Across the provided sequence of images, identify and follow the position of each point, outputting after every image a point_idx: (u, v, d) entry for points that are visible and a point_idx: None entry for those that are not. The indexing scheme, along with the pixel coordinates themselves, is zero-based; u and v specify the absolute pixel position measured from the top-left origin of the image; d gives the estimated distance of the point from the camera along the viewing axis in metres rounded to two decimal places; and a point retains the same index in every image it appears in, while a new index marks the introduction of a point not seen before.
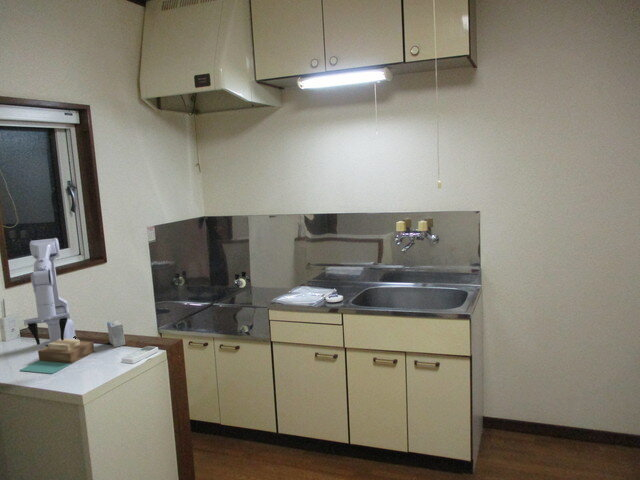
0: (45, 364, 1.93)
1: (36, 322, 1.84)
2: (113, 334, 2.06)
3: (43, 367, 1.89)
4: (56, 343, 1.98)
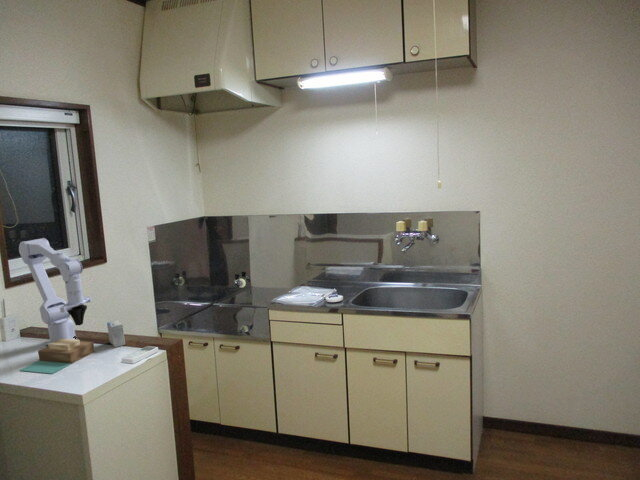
0: (45, 364, 1.93)
1: (70, 308, 2.02)
2: (113, 334, 2.06)
3: (43, 367, 1.89)
4: (56, 343, 1.98)
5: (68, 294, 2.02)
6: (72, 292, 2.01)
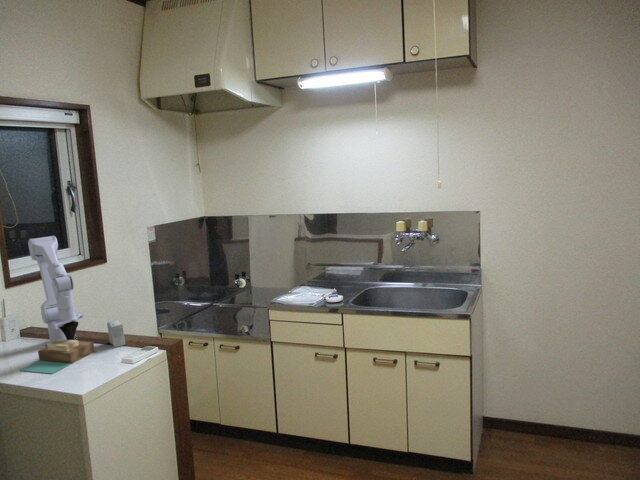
0: (45, 364, 1.93)
1: (61, 325, 1.97)
2: (113, 334, 2.06)
3: (43, 367, 1.89)
4: (54, 344, 1.97)
5: (59, 310, 1.97)
6: (61, 309, 1.97)
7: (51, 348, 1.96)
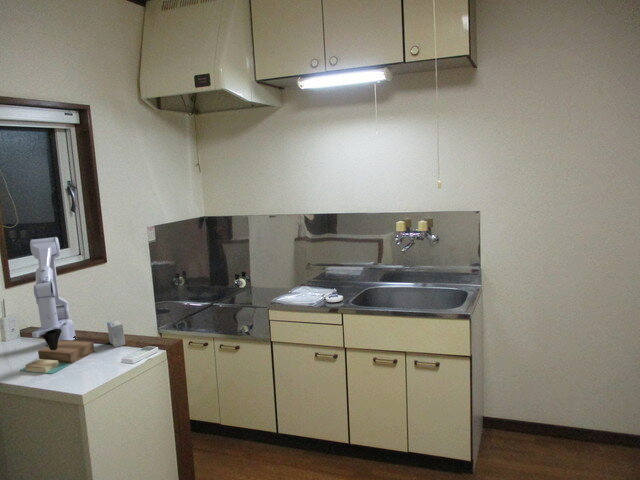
0: None
1: (43, 333, 1.89)
2: (113, 334, 2.06)
3: None
4: None
5: (41, 318, 1.89)
6: (41, 316, 1.89)
7: None
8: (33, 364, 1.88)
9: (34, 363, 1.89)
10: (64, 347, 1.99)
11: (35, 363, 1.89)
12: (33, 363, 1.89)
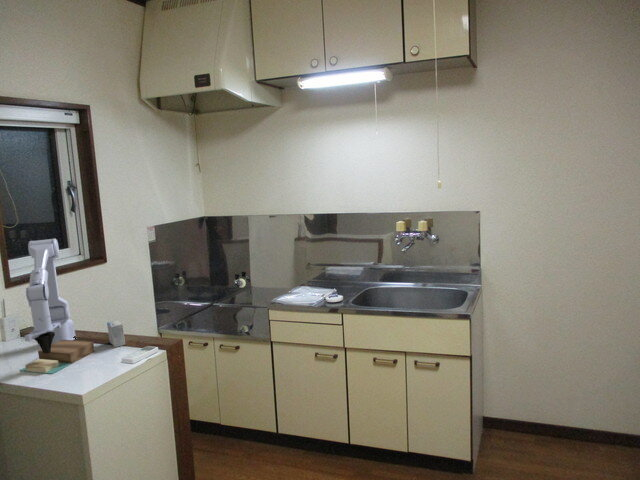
0: None
1: (36, 336, 1.86)
2: (113, 334, 2.06)
3: None
4: None
5: (34, 321, 1.86)
6: (33, 319, 1.86)
7: None
8: (33, 364, 1.88)
9: (34, 363, 1.89)
10: (64, 347, 1.99)
11: (35, 363, 1.89)
12: (33, 363, 1.89)
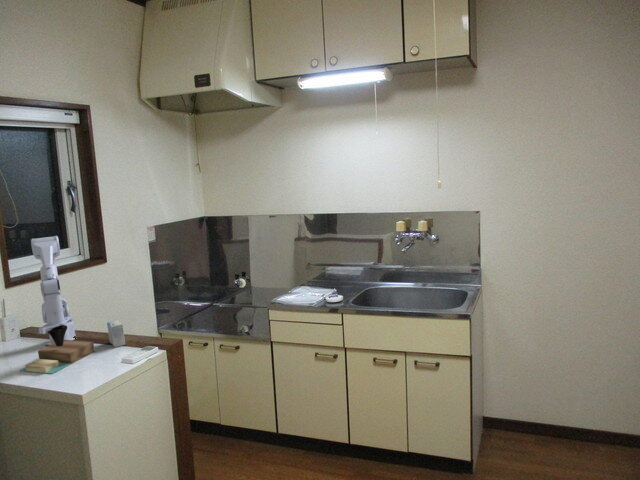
0: None
1: (49, 329, 1.92)
2: (113, 334, 2.06)
3: None
4: None
5: (47, 314, 1.92)
6: (48, 312, 1.92)
7: None
8: (33, 364, 1.88)
9: (34, 363, 1.89)
10: (64, 347, 1.99)
11: (35, 363, 1.89)
12: (33, 363, 1.89)
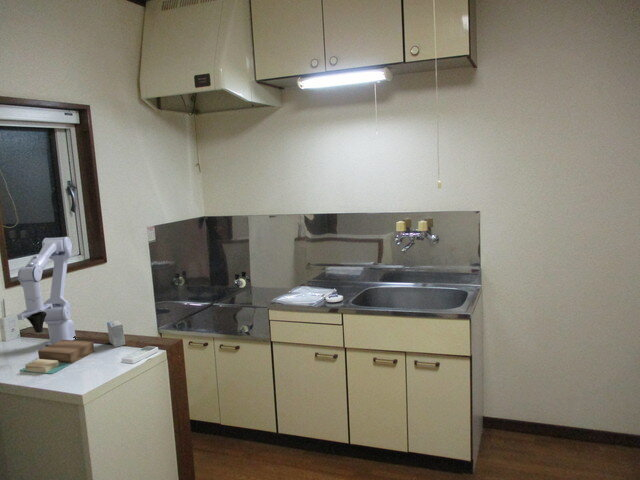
0: None
1: (28, 315, 1.95)
2: (113, 334, 2.06)
3: None
4: None
5: (26, 301, 1.95)
6: (25, 298, 1.96)
7: None
8: (33, 364, 1.88)
9: (34, 363, 1.89)
10: (64, 347, 1.99)
11: (35, 363, 1.89)
12: (33, 363, 1.89)
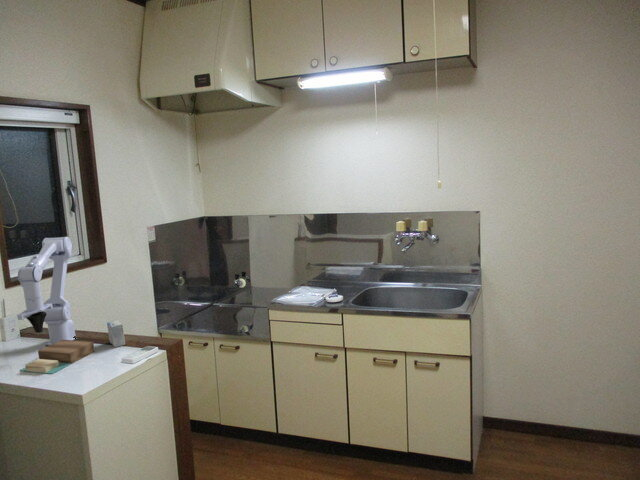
0: None
1: (28, 315, 1.95)
2: (113, 334, 2.06)
3: None
4: None
5: (26, 301, 1.95)
6: (25, 298, 1.96)
7: None
8: (33, 364, 1.88)
9: (34, 363, 1.89)
10: (64, 347, 1.99)
11: (35, 363, 1.89)
12: (33, 363, 1.89)
